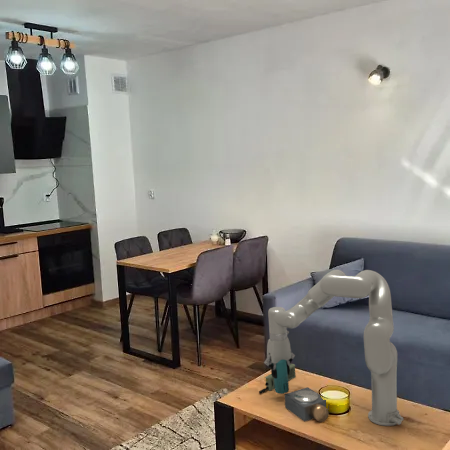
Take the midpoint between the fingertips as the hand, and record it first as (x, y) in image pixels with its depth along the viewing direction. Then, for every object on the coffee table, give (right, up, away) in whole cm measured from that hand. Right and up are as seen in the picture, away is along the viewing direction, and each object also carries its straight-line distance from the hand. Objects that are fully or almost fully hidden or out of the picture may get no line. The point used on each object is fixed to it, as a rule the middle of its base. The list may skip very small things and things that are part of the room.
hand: (280, 375), depth 223 cm
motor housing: (+11, -12, -12) cm, 20 cm away
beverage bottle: (+1, -9, +1) cm, 9 cm away
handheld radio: (0, -10, +15) cm, 18 cm away
